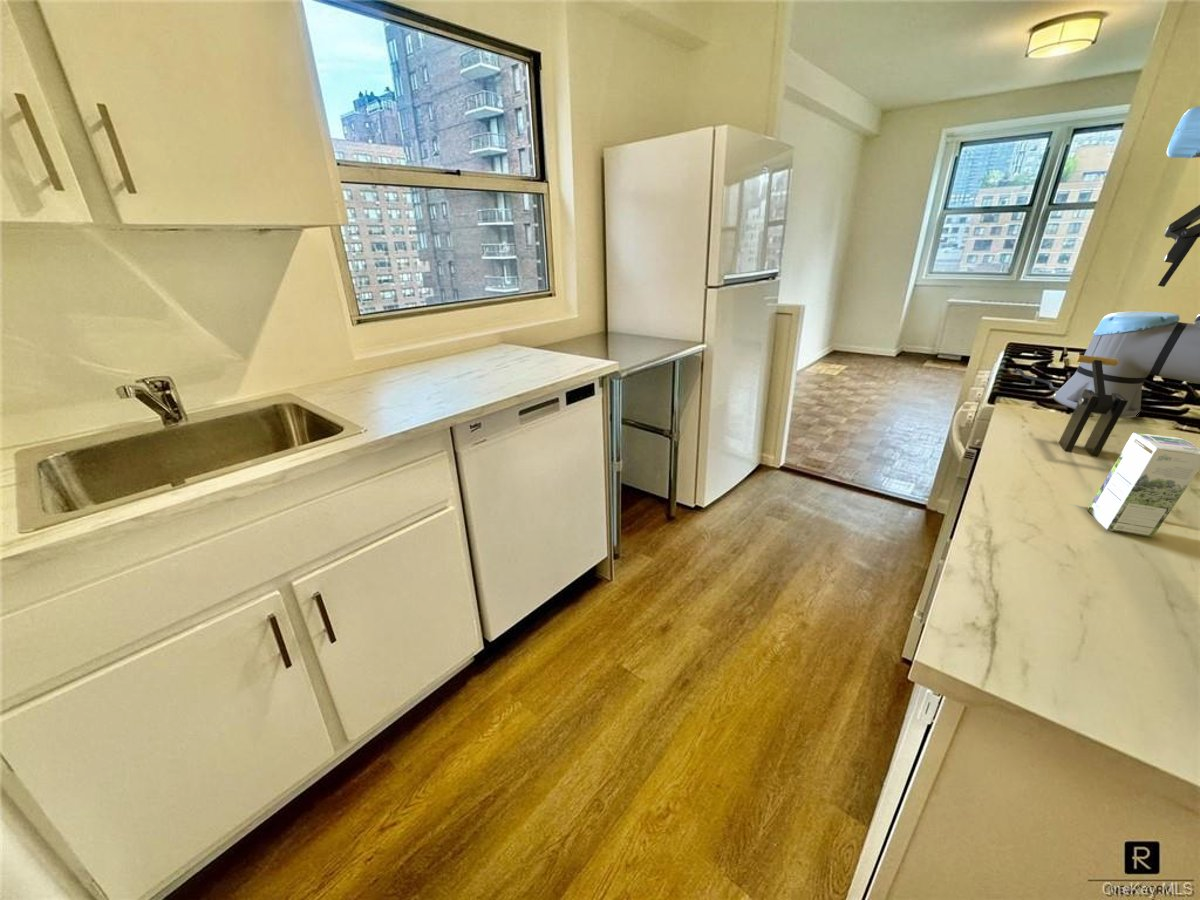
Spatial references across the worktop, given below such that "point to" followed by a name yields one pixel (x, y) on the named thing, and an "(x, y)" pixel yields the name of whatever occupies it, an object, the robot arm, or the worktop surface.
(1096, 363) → the tap lever
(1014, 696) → the worktop surface
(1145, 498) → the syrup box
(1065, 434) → the bracket
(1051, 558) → the worktop surface
